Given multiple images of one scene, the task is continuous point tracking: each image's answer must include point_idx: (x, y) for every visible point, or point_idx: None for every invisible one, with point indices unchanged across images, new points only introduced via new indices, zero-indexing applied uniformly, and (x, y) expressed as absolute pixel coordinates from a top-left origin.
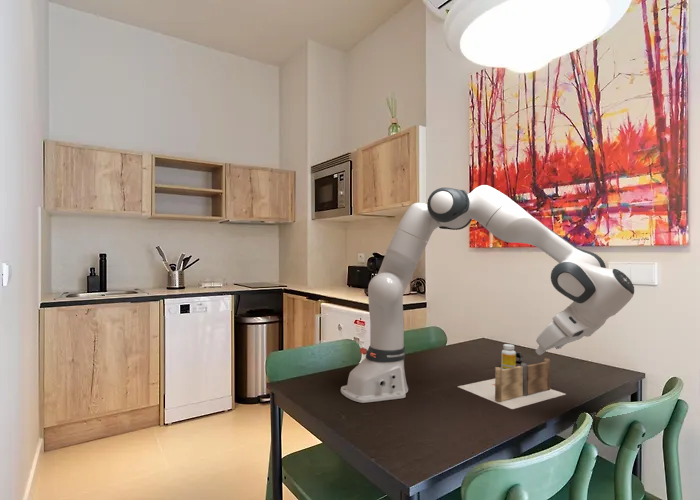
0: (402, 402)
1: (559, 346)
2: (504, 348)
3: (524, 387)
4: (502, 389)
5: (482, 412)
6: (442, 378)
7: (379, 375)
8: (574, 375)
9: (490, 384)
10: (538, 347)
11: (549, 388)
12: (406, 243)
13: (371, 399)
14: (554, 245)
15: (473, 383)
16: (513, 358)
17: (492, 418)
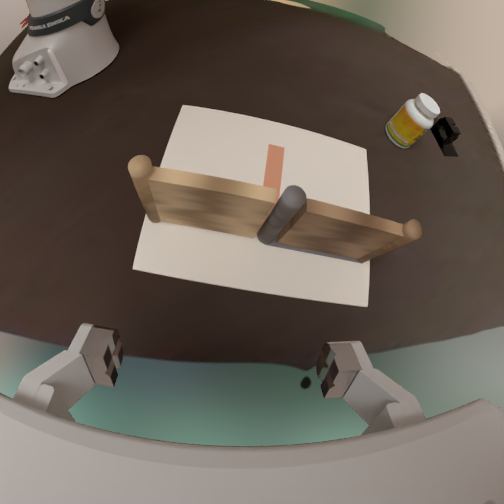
0: (36, 110)
1: (324, 386)
2: (415, 100)
3: (265, 232)
4: (161, 209)
5: (72, 226)
6: (217, 66)
7: (23, 57)
8: (472, 250)
9: (266, 142)
10: (69, 347)
11: (363, 261)
12: None
13: (16, 90)
14: None
15: (236, 115)
16: (414, 130)
17: (56, 262)
